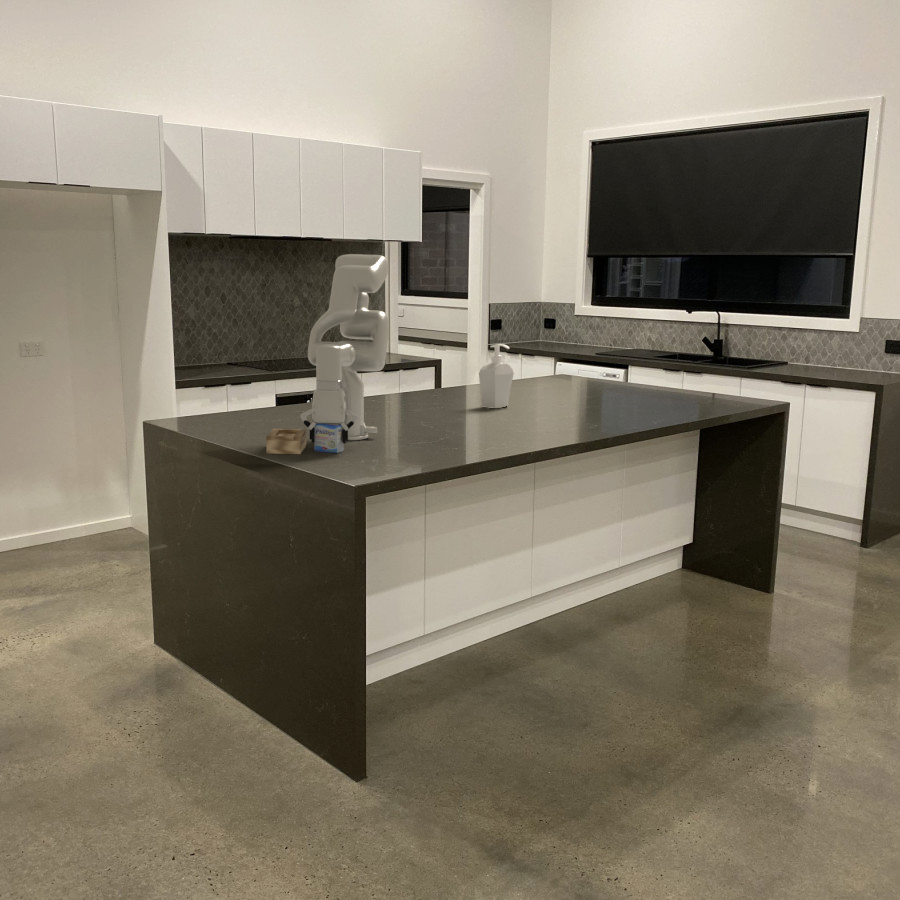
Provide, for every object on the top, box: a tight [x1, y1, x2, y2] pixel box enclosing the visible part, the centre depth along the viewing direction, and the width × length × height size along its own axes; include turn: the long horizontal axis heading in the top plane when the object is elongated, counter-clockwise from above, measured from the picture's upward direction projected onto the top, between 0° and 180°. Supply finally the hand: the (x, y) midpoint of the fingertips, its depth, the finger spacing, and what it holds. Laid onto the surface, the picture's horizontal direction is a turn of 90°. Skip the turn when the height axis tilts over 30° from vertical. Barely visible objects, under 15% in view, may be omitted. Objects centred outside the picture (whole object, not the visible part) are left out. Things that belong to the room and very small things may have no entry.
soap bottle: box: [478, 343, 514, 408], centre depth 368 cm, size 12×10×26 cm
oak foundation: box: [265, 428, 307, 455], centre depth 276 cm, size 10×13×5 cm
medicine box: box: [313, 423, 344, 454], centre depth 275 cm, size 8×4×9 cm, turn 70°
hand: (328, 442), depth 275 cm, fingers closed on medicine box, 9 cm apart
